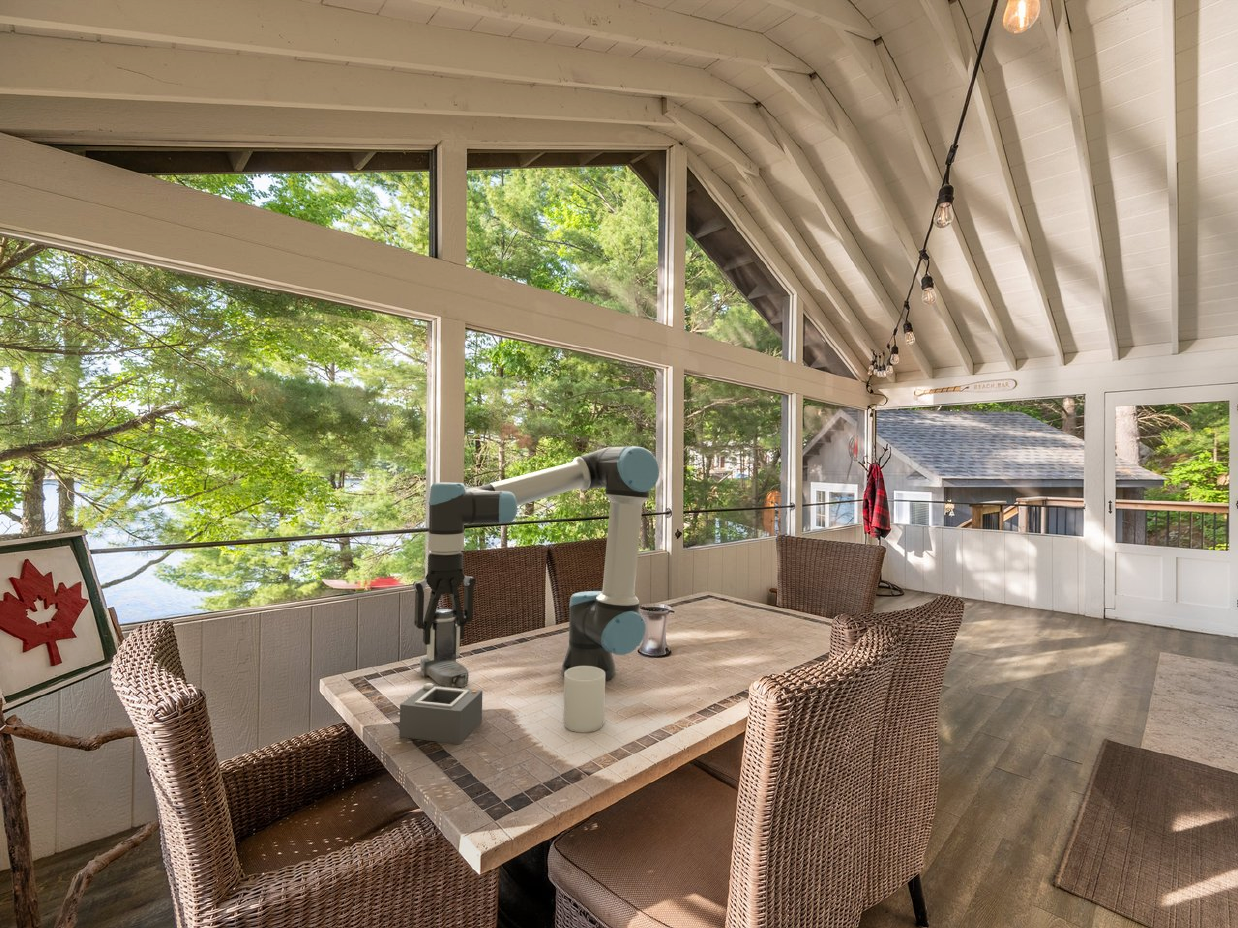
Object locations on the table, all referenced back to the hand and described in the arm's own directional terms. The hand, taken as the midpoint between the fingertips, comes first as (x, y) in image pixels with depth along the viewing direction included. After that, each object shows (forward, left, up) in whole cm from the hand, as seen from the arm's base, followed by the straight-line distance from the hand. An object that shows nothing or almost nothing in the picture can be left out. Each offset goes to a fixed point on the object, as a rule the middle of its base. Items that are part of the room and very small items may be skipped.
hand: (443, 655), depth 125 cm
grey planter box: (0, 0, -16) cm, 16 cm away
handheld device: (+13, -27, -17) cm, 34 cm away
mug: (-29, -10, -17) cm, 35 cm away
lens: (0, 0, 0) cm, 0 cm away
